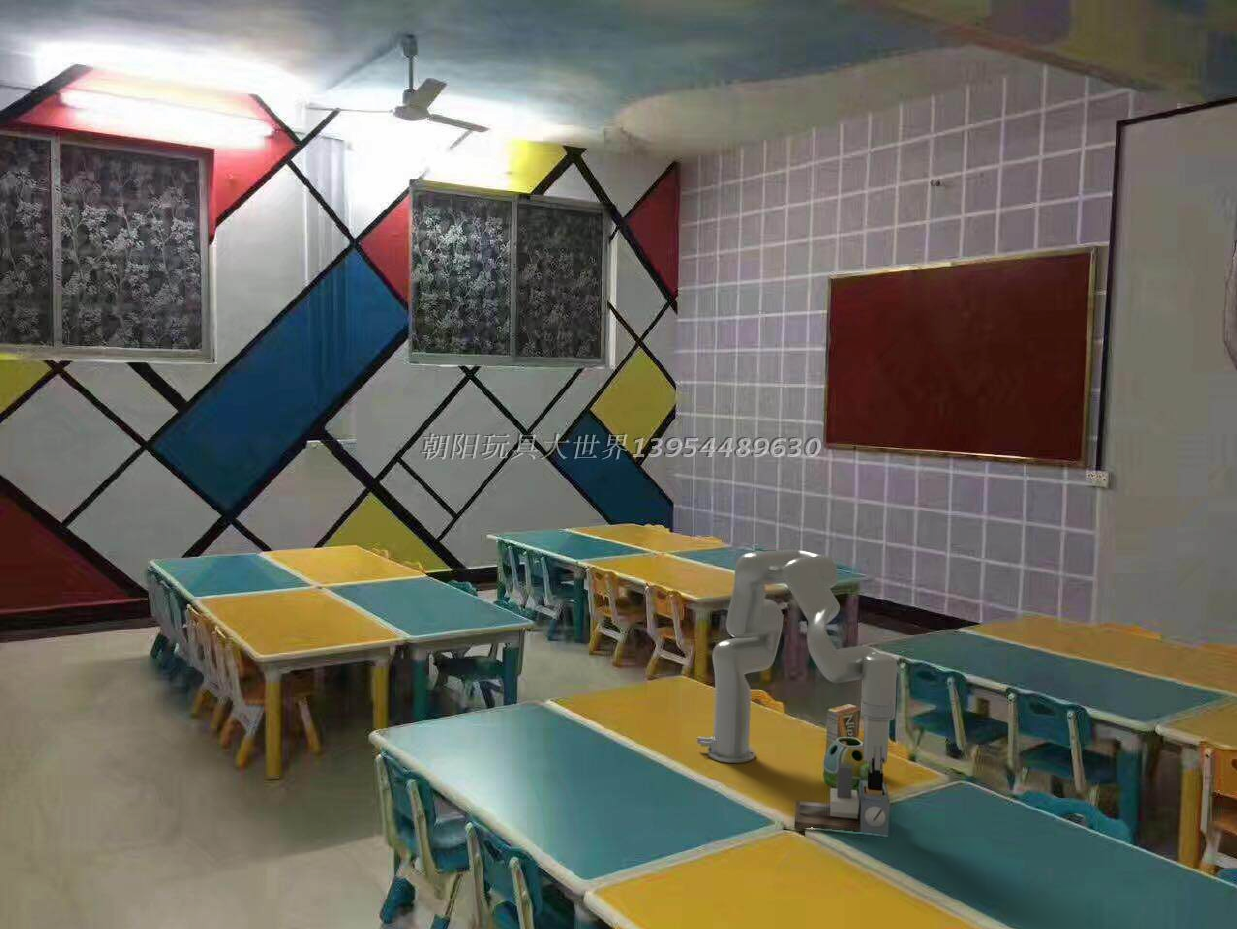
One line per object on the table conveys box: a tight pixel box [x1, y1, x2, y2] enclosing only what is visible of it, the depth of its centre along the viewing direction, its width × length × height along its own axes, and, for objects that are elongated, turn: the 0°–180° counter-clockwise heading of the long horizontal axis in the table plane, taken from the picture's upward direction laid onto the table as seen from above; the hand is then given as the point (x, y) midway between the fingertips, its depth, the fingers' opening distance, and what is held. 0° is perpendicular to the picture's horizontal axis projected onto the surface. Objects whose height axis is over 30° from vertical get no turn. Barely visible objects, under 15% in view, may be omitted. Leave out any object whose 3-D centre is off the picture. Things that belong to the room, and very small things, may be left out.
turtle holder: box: [822, 737, 869, 793], centre depth 255 cm, size 12×18×12 cm
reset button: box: [866, 786, 882, 795], centre depth 236 cm, size 4×4×4 cm
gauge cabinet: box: [858, 780, 891, 836], centre depth 236 cm, size 6×12×8 cm, turn 169°
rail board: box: [793, 800, 861, 832], centre depth 238 cm, size 14×12×4 cm
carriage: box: [829, 763, 859, 818], centre depth 237 cm, size 6×8×11 cm
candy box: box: [825, 703, 861, 753], centre depth 273 cm, size 9×4×15 cm, turn 129°
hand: (874, 788), depth 235 cm, fingers closed
